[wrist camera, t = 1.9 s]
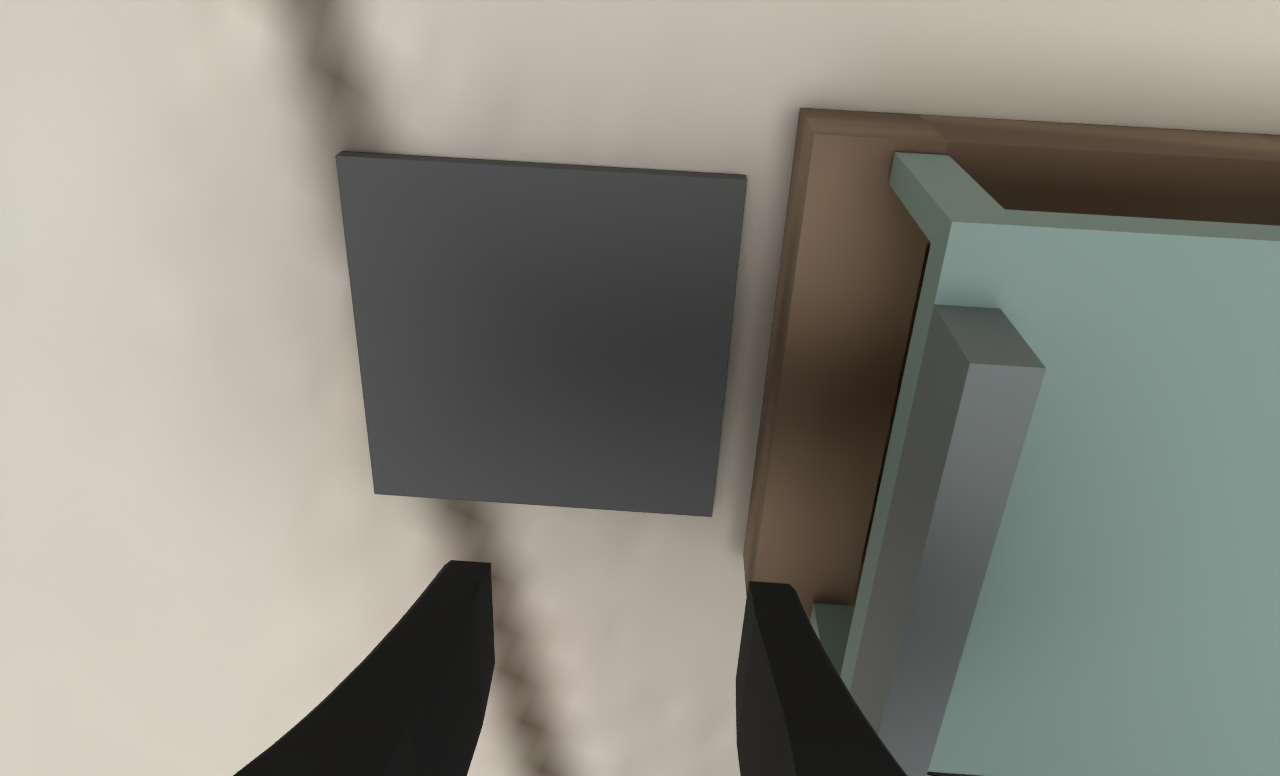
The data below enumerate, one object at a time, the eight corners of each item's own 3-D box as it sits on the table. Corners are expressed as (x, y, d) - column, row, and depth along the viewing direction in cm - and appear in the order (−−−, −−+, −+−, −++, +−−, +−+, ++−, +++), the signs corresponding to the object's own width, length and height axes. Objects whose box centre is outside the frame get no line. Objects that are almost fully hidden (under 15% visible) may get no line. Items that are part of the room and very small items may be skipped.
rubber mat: (711, 508, 24) (711, 517, 24) (379, 485, 24) (374, 494, 24) (745, 175, 20) (746, 180, 19) (341, 151, 20) (335, 155, 20)
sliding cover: (1177, 647, 22) (1337, 892, 17) (809, 621, 22) (848, 854, 17) (1385, 180, 16) (1729, 316, 11) (894, 152, 17) (992, 270, 11)
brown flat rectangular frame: (1558, 610, 24) (1644, 681, 22) (743, 554, 25) (748, 617, 22) (1867, 168, 18) (2025, 203, 16) (800, 108, 19) (814, 133, 17)
